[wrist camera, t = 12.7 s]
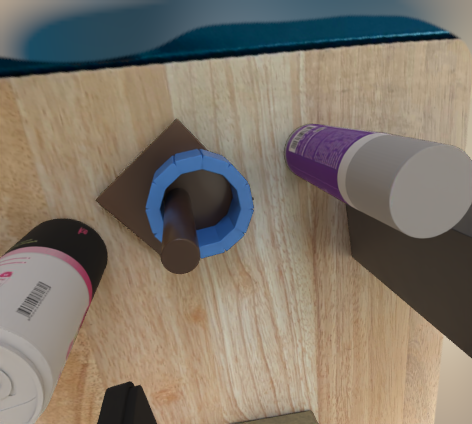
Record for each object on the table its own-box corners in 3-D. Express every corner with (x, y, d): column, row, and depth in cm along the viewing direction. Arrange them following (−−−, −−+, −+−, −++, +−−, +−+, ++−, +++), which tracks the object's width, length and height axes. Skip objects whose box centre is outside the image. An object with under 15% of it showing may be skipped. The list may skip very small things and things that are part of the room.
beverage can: (122, 269, 30) (76, 417, 16) (52, 299, 29) (-60, 478, 15) (83, 204, 27) (-11, 308, 13) (7, 236, 27) (-171, 377, 13)
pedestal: (422, 158, 32) (708, 220, 15) (425, 235, 34) (669, 362, 17) (343, 180, 31) (548, 271, 14) (351, 256, 34) (533, 411, 17)
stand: (177, 118, 27) (179, 128, 15) (251, 195, 30) (299, 252, 18) (98, 196, 28) (45, 261, 16) (178, 264, 31) (181, 360, 19)
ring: (199, 129, 26) (203, 133, 23) (261, 197, 29) (273, 209, 25) (129, 196, 27) (123, 209, 23) (196, 256, 29) (199, 276, 26)
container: (288, 183, 30) (389, 252, 16) (280, 130, 28) (383, 154, 14) (337, 171, 31) (477, 227, 16) (332, 118, 29) (482, 130, 15)
